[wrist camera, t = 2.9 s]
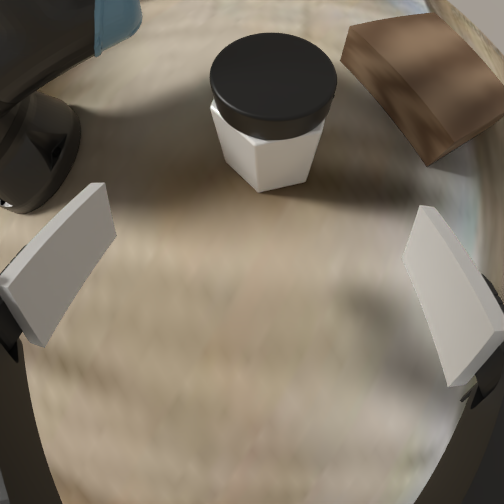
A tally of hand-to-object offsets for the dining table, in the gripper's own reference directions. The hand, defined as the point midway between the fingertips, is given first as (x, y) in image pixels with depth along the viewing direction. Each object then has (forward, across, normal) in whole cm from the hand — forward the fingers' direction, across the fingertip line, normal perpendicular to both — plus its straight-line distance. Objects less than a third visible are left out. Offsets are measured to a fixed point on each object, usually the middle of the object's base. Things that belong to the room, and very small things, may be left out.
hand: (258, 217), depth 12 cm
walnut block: (+27, +19, +5) cm, 33 cm away
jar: (+18, 0, -3) cm, 19 cm away
